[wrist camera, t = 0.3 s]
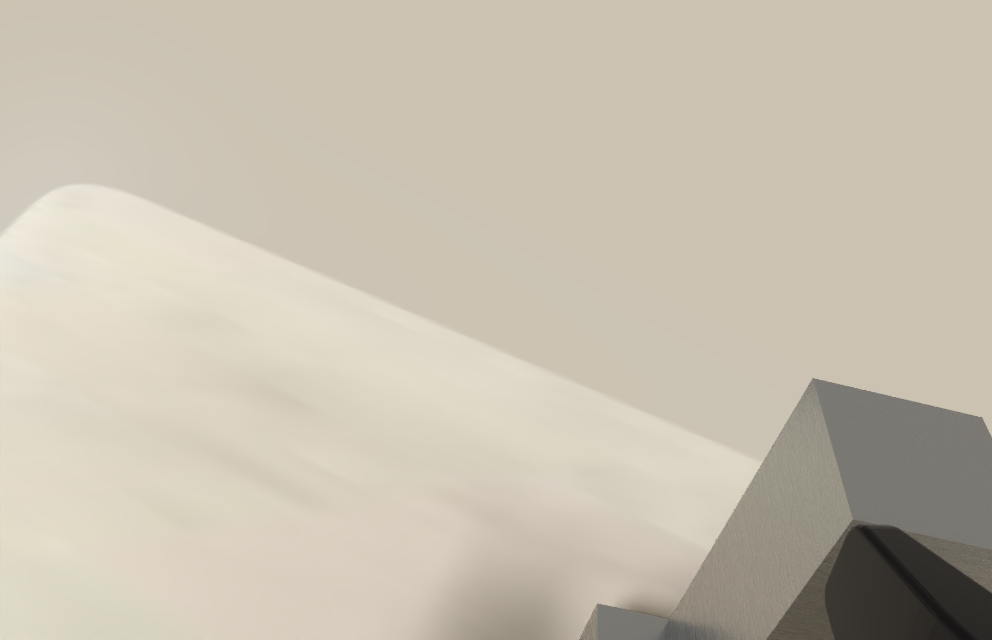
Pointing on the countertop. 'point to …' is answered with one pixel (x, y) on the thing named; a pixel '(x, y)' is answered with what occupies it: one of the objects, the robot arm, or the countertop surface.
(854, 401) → the grey tower on plinth
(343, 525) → the countertop surface
